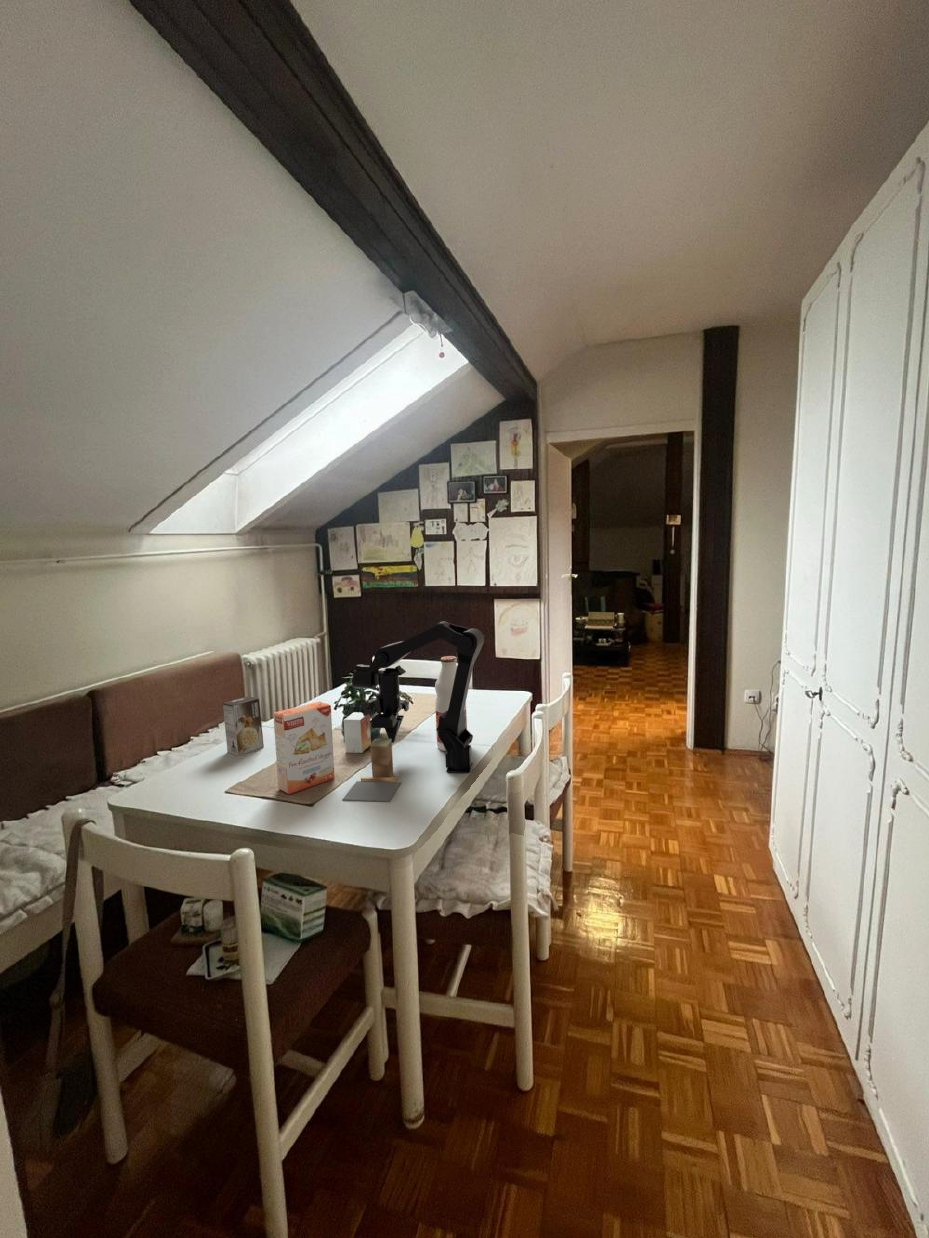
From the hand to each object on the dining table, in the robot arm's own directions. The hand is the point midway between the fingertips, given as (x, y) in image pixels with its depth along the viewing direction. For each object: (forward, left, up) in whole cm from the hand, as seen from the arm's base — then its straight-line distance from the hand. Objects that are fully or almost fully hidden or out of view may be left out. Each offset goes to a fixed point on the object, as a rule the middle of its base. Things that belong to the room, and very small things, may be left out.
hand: (392, 742), depth 168 cm
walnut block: (0, +10, -6) cm, 12 cm away
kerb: (0, +14, -6) cm, 15 cm away
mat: (0, +20, -6) cm, 21 cm away
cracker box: (+19, +16, -6) cm, 26 cm away
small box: (+14, -11, -6) cm, 19 cm away
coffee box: (+50, -8, -6) cm, 51 cm away
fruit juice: (-15, -14, -6) cm, 21 cm away
